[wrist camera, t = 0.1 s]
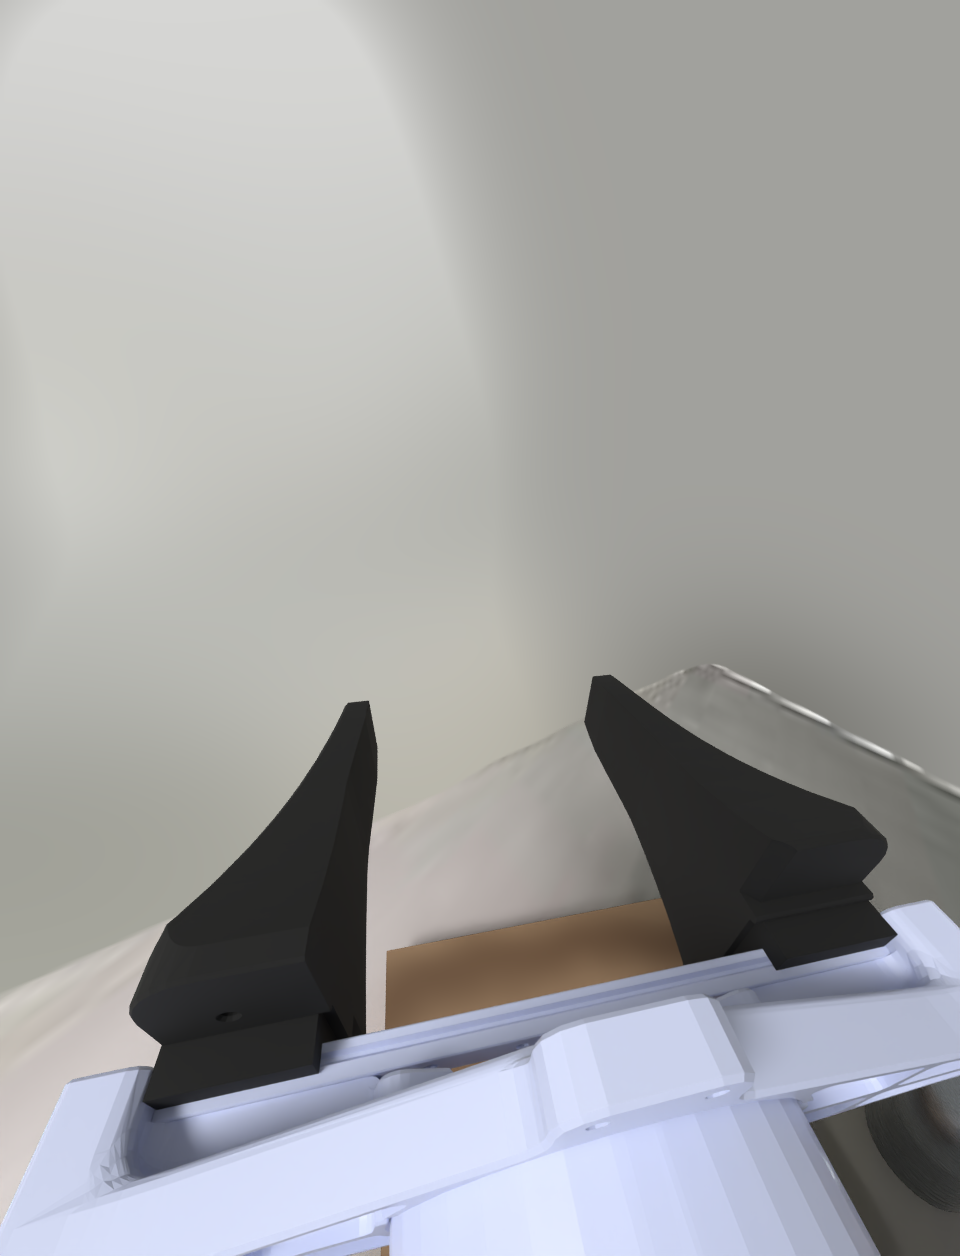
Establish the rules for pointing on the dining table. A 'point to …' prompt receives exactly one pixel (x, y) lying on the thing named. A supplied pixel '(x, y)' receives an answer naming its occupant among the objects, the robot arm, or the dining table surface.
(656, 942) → the hole board
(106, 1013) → the dining table surface
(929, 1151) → the tall pin
